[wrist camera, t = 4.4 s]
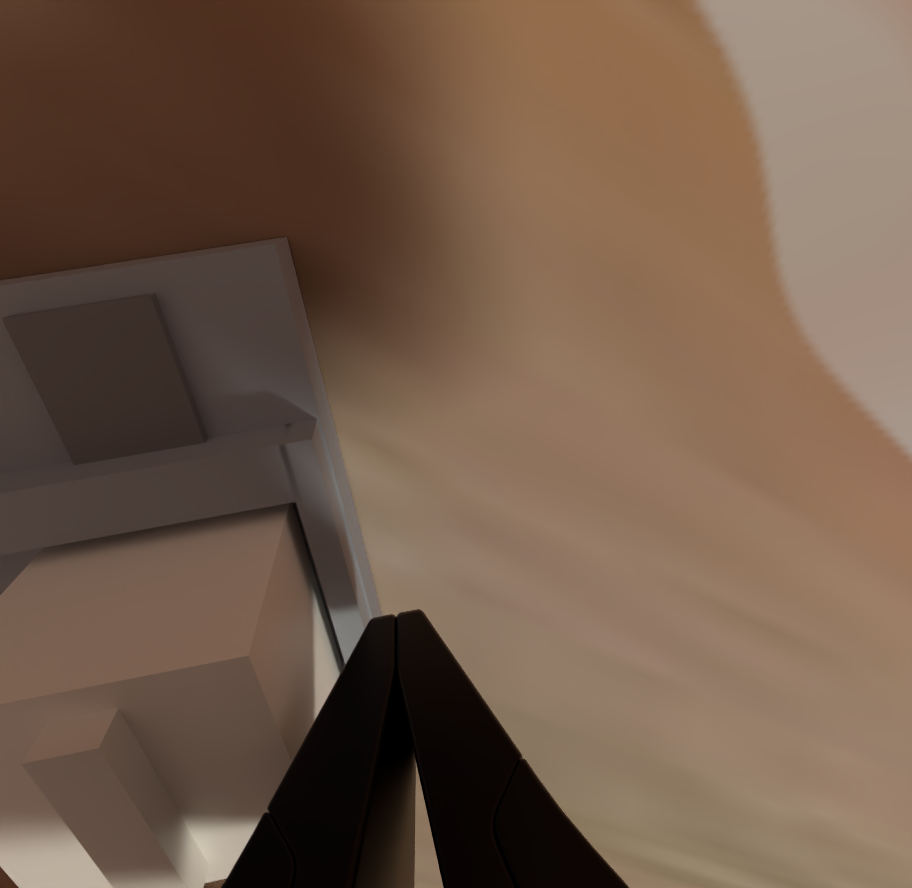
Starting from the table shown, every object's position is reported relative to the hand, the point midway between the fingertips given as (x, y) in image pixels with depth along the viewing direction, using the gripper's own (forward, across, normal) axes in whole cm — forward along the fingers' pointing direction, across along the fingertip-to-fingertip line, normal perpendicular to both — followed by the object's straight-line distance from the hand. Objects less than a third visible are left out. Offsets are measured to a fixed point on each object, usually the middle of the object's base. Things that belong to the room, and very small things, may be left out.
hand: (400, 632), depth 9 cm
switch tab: (+2, +3, 0) cm, 4 cm away
